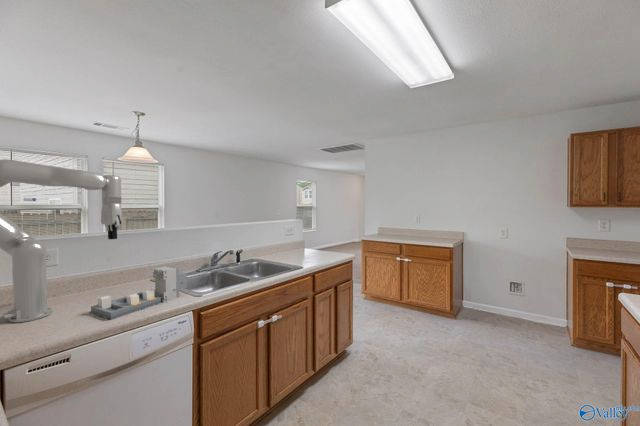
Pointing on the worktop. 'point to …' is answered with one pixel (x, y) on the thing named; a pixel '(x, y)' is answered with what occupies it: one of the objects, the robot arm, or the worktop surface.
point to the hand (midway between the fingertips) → (112, 238)
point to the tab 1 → (104, 302)
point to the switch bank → (124, 307)
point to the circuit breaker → (169, 282)
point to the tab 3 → (148, 294)
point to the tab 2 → (132, 299)
